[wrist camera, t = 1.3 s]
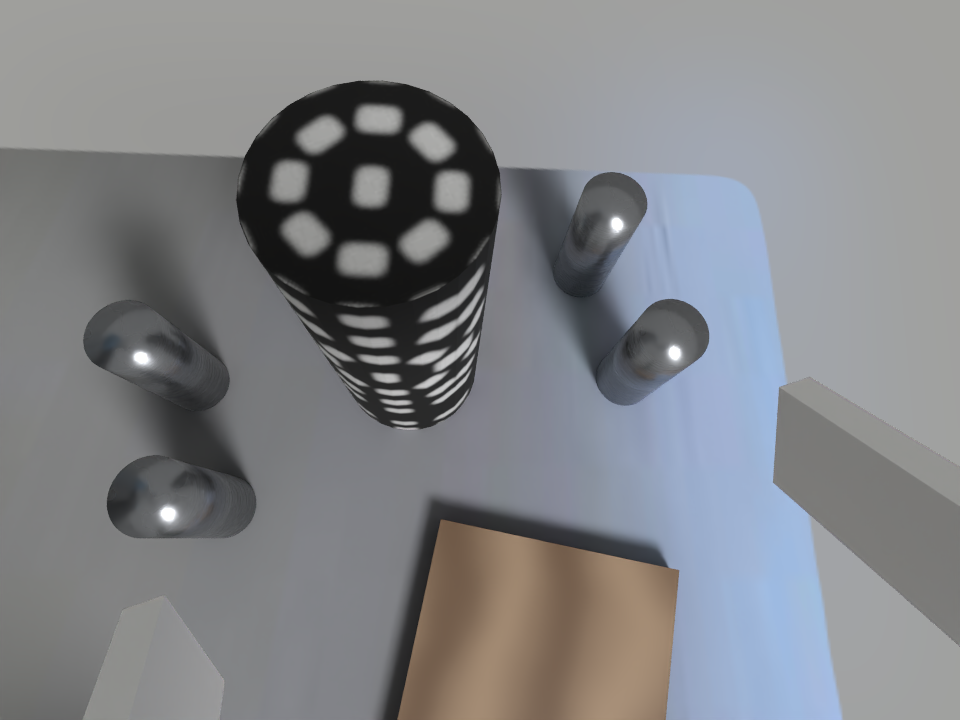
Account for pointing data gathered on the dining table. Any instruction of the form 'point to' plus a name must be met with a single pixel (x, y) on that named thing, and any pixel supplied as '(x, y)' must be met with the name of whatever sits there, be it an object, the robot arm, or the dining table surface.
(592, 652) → the square wooden board
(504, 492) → the dining table surface
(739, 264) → the dining table surface
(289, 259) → the spotted tube
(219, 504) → the spacer posts
